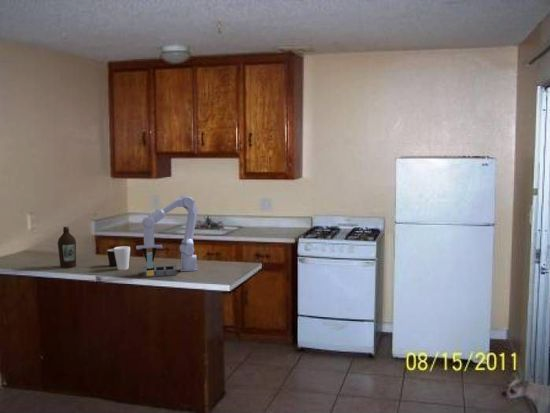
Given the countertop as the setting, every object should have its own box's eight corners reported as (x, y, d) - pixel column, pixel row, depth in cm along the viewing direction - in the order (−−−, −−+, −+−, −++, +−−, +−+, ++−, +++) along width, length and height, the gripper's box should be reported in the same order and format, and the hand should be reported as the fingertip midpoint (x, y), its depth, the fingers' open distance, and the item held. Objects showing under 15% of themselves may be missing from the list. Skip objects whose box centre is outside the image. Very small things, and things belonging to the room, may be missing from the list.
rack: (176, 270, 341) (176, 265, 341) (177, 275, 328) (176, 269, 328) (143, 272, 338) (143, 266, 337) (143, 277, 325) (142, 271, 324)
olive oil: (57, 266, 359) (55, 226, 356) (74, 264, 365) (72, 225, 362) (61, 269, 350) (59, 228, 348) (79, 267, 356) (77, 227, 353)
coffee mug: (108, 267, 352) (107, 251, 351) (107, 265, 360) (106, 249, 359) (127, 265, 357) (127, 250, 356) (126, 263, 365) (125, 247, 363)
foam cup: (118, 271, 342) (117, 249, 341) (112, 268, 349) (111, 247, 348) (133, 268, 348) (132, 247, 346) (127, 266, 355) (126, 245, 354)
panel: (152, 265, 336) (152, 252, 335) (152, 268, 328) (152, 254, 327) (147, 265, 335) (147, 252, 335) (147, 268, 328) (146, 254, 327)
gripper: (161, 236, 335) (162, 259, 337) (136, 237, 332) (137, 260, 334) (161, 238, 328) (162, 261, 330) (135, 239, 325) (136, 262, 327)
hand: (149, 261), depth 331 cm, fingers closed on panel, 3 cm apart
